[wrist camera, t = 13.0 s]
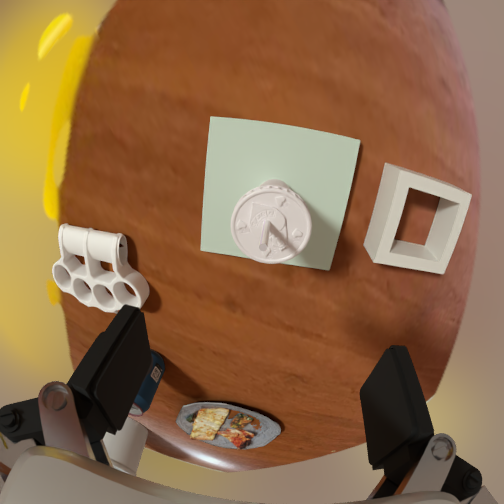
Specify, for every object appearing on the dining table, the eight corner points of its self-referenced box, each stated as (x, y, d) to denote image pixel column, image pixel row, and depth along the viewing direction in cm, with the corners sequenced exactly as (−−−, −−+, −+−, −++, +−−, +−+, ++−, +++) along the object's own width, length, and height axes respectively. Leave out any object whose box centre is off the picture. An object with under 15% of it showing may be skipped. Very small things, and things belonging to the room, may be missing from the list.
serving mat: (212, 116, 27) (210, 116, 26) (357, 139, 27) (360, 140, 26) (202, 246, 35) (200, 250, 34) (328, 266, 34) (329, 270, 33)
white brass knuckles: (147, 234, 35) (153, 316, 42) (55, 218, 36) (69, 292, 42) (136, 245, 32) (145, 330, 39) (42, 226, 33) (60, 302, 39)
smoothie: (282, 155, 28) (283, 184, 15) (314, 204, 30) (337, 268, 17) (233, 187, 30) (197, 240, 17) (266, 232, 32) (255, 309, 19)
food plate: (252, 449, 62) (251, 459, 59) (172, 425, 60) (169, 435, 57) (296, 413, 51) (296, 426, 48) (192, 381, 50) (187, 395, 47)
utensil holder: (135, 415, 61) (115, 465, 45) (158, 438, 67) (144, 483, 52) (99, 407, 64) (78, 450, 48) (123, 431, 70) (107, 471, 54)
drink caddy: (384, 162, 27) (400, 169, 23) (452, 184, 27) (471, 194, 23) (363, 244, 32) (373, 262, 28) (429, 257, 32) (443, 274, 28)
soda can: (145, 369, 49) (124, 416, 38) (127, 345, 46) (100, 393, 35) (173, 368, 47) (153, 420, 36) (155, 343, 44) (129, 396, 34)
